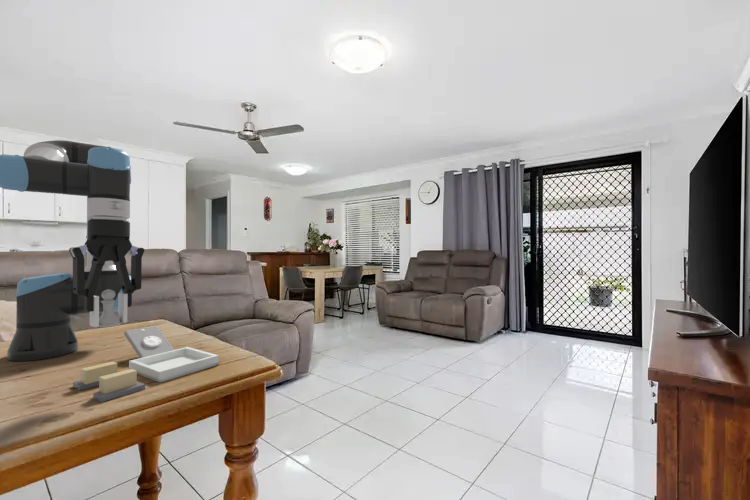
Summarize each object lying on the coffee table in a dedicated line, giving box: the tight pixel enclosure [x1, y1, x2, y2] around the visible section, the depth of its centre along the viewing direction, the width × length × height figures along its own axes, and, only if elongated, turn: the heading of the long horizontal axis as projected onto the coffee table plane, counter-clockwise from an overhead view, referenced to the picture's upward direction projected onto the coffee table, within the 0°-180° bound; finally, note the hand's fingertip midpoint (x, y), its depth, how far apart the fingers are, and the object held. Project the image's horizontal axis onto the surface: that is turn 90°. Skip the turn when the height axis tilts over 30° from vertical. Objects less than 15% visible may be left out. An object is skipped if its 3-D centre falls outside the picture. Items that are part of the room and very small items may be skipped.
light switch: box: [123, 325, 176, 358], centre depth 99 cm, size 8×6×14 cm
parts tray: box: [128, 346, 220, 384], centre depth 90 cm, size 15×15×2 cm
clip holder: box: [72, 361, 146, 403], centre depth 77 cm, size 15×8×4 cm, turn 58°
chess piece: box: [98, 289, 122, 328], centre depth 77 cm, size 5×5×8 cm
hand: (108, 323), depth 77 cm, fingers closed on chess piece, 5 cm apart
